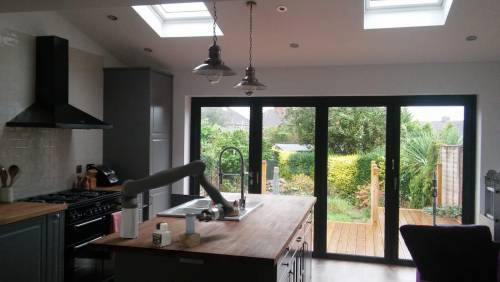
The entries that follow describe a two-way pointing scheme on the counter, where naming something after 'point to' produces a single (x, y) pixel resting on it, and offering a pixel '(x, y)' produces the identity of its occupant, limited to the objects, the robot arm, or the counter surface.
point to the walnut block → (189, 240)
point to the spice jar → (190, 224)
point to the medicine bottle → (161, 235)
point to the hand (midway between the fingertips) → (193, 219)
